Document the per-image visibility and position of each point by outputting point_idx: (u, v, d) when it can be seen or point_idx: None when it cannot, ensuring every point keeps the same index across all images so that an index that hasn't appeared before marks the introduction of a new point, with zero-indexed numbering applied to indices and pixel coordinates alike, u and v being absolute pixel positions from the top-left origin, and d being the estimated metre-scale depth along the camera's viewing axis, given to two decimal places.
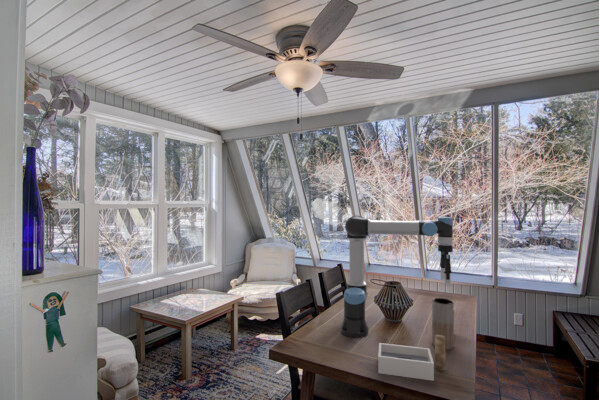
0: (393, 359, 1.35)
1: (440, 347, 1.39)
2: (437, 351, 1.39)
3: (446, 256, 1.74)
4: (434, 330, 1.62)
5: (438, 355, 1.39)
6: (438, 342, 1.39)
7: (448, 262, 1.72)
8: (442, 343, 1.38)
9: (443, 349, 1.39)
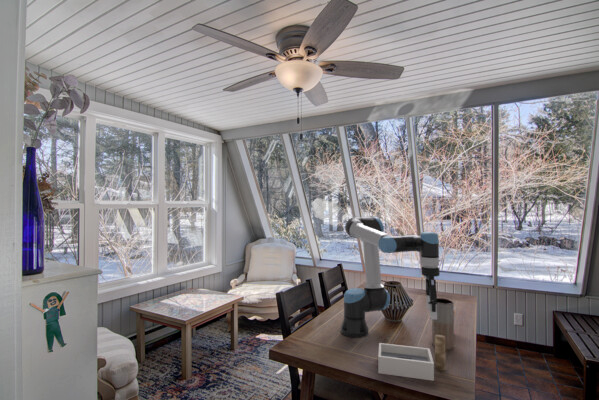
0: (393, 359, 1.35)
1: (440, 347, 1.39)
2: (437, 351, 1.39)
3: (431, 282, 1.38)
4: (434, 330, 1.62)
5: (438, 355, 1.39)
6: (437, 342, 1.39)
7: (433, 290, 1.37)
8: (442, 343, 1.38)
9: (443, 349, 1.39)
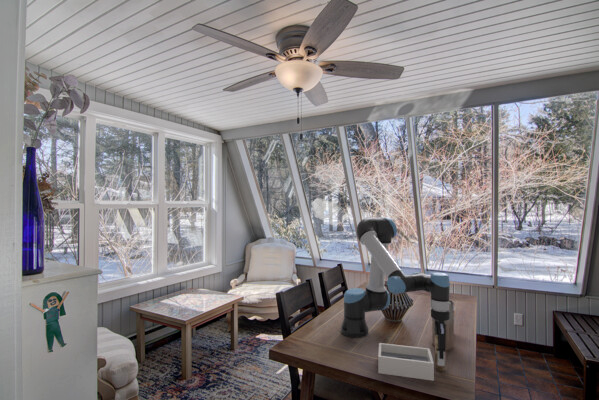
0: (393, 359, 1.35)
1: None
2: (437, 351, 1.39)
3: (441, 331, 1.34)
4: (434, 330, 1.62)
5: None
6: (437, 342, 1.39)
7: (443, 339, 1.35)
8: None
9: None
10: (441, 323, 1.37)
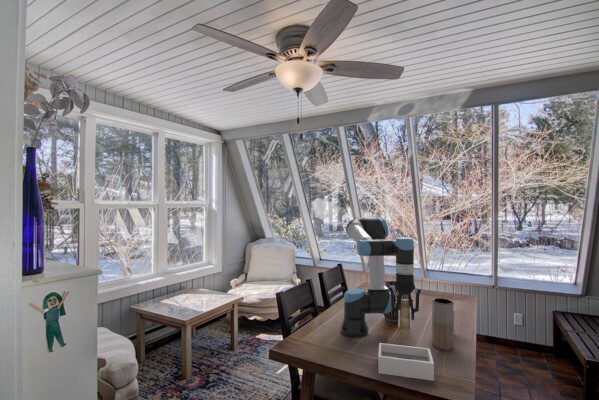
0: (393, 359, 1.35)
1: (400, 308, 1.41)
2: None
3: None
4: (434, 330, 1.62)
5: None
6: None
7: (390, 296, 1.42)
8: (400, 305, 1.40)
9: (401, 311, 1.40)
10: (395, 283, 1.42)
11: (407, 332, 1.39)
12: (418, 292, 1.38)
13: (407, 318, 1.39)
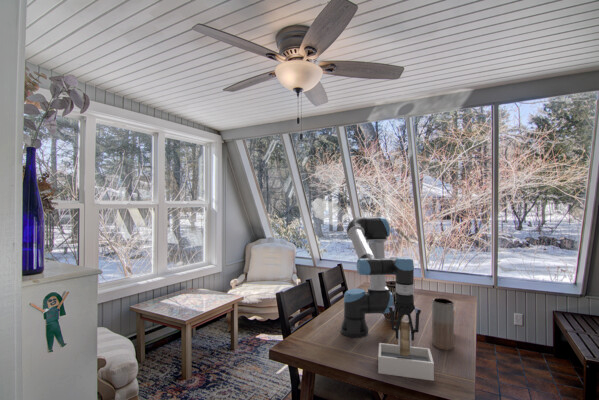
0: (393, 359, 1.35)
1: (400, 330, 1.41)
2: None
3: (389, 308, 1.43)
4: (434, 330, 1.62)
5: None
6: None
7: None
8: (400, 327, 1.40)
9: (401, 333, 1.40)
10: (395, 303, 1.42)
11: (407, 354, 1.38)
12: (418, 313, 1.38)
13: (407, 340, 1.38)
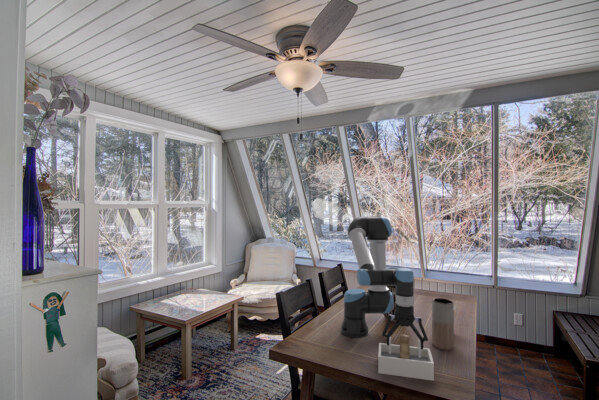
0: (393, 359, 1.35)
1: (400, 344, 1.41)
2: None
3: (388, 316, 1.43)
4: (434, 330, 1.62)
5: None
6: None
7: (386, 323, 1.42)
8: (400, 341, 1.40)
9: (400, 347, 1.40)
10: None
11: None
12: (419, 321, 1.38)
13: (407, 355, 1.39)
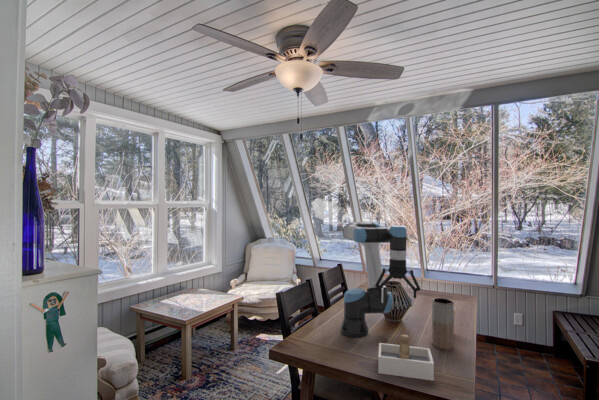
0: (393, 359, 1.35)
1: None
2: None
3: None
4: (434, 330, 1.62)
5: None
6: None
7: (380, 275, 1.53)
8: (400, 341, 1.40)
9: (400, 348, 1.40)
10: None
11: None
12: (411, 273, 1.48)
13: (407, 355, 1.39)
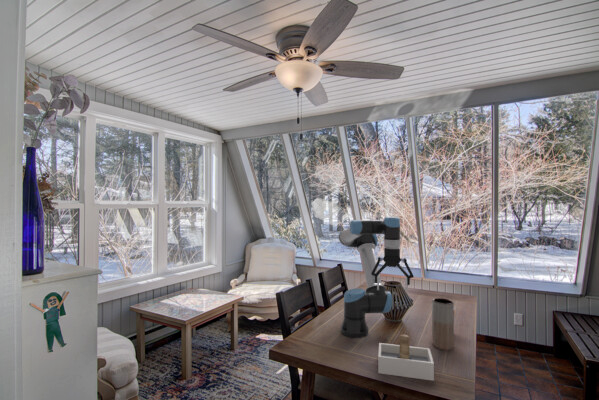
0: (393, 359, 1.35)
1: None
2: None
3: None
4: (434, 330, 1.62)
5: None
6: None
7: (375, 264, 1.62)
8: (400, 341, 1.40)
9: (400, 348, 1.40)
10: None
11: None
12: (405, 261, 1.58)
13: (407, 355, 1.39)
